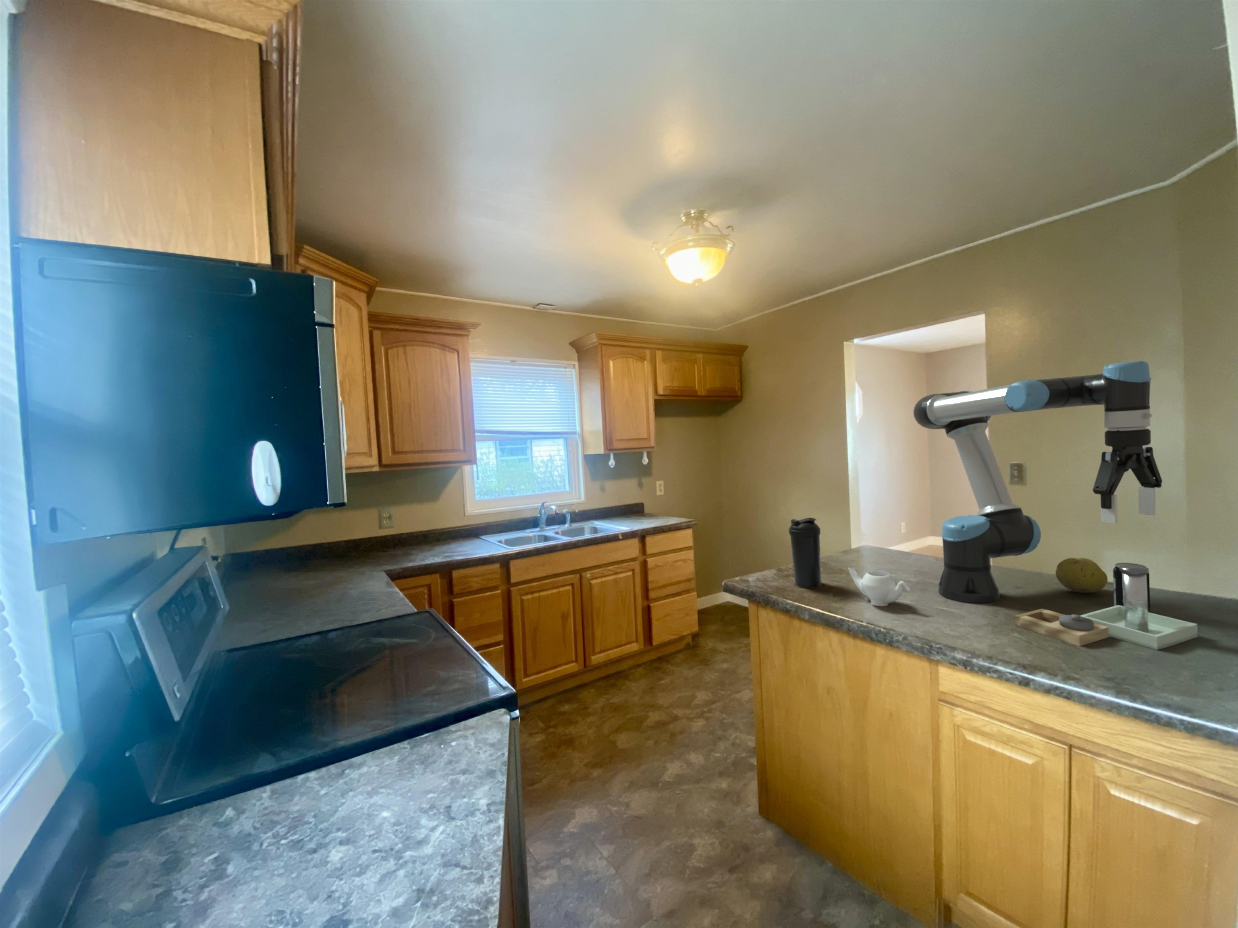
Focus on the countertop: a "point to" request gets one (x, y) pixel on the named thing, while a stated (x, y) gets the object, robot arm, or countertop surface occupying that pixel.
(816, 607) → the countertop surface
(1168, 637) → the tray
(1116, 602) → the beverage can
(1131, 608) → the pin
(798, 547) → the water bottle
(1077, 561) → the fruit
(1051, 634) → the block
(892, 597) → the teapot
